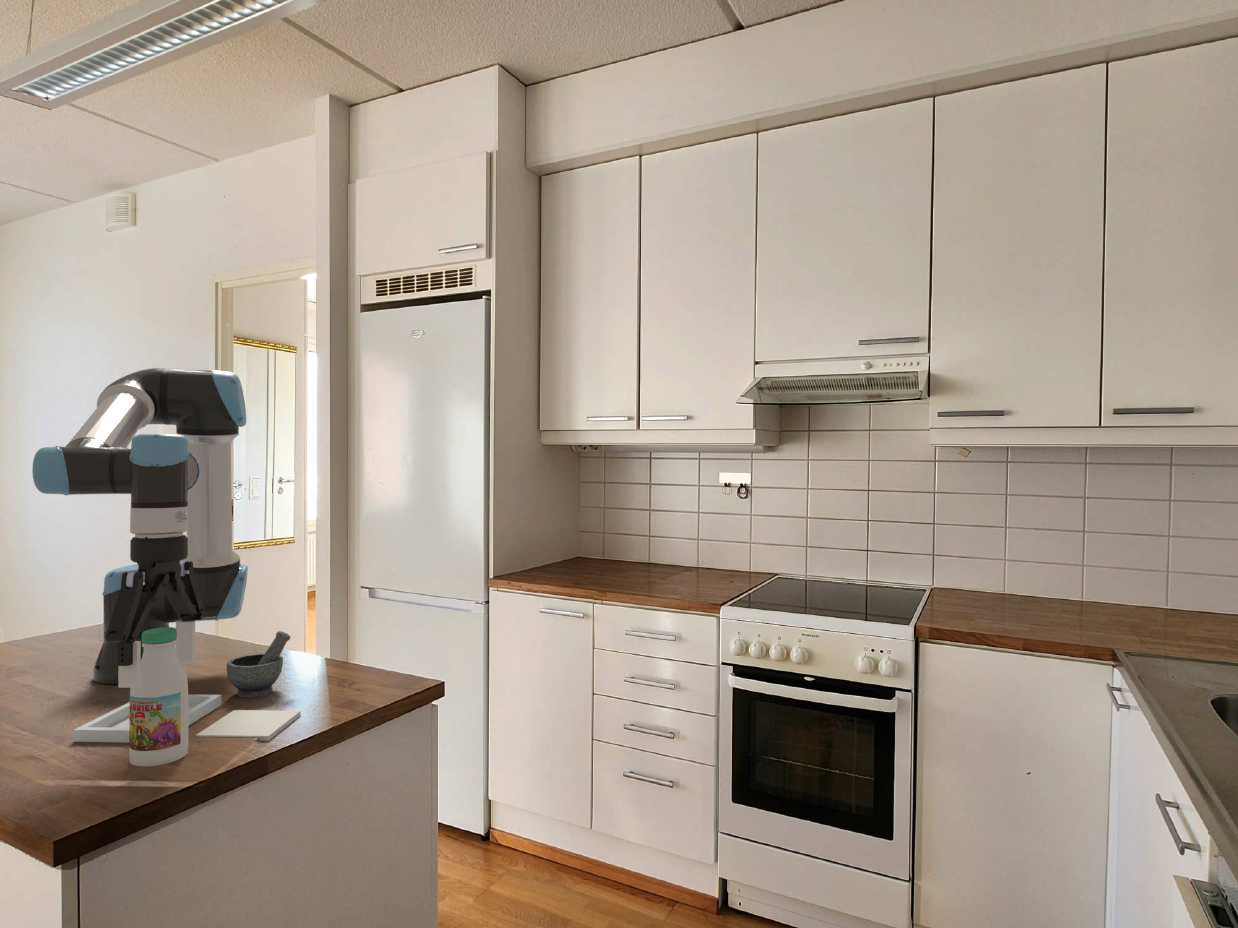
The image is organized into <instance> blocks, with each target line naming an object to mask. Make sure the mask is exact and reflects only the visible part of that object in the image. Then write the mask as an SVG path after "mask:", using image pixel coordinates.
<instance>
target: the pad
mask: <svg viewBox="0 0 1238 928" xmlns="http://www.w3.org/2000/svg"><path fill="white" fill-rule="evenodd" d="M301 713H302V712H301V710H268V709H267V710H266V709H265V710H263V709H262V710H259V709H255V710H254V709H248V710H247V709H234V710H232V711H231V712H229V713H227V714H226V715H224V716H223V717H221V718H219V719H218V720H217V721H215V722H214V723H211V724H210V725H209V726H207V727H206V728H204V729H202V730H201V731H200V732H198V733H197V734H195V737H203V738H204V737H208V738H209V737H210V738H211V737H214V738H217V737H218V738H256V739H255V741H256V742H257V741H258V742H259V741H260V742H262V741H263V742H269V741H271V739H273V738H274V737H275V736H277V735H278V734H279V733H280V732H282V731H283V730H284V729H285V728H287V727H288V726H289V725H291V724H292V723H293V722H294V721H296V719H298V718H299V717H300V716H301V715H302V714H301Z"/></svg>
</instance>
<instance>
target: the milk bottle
mask: <svg viewBox="0 0 1238 928" xmlns="http://www.w3.org/2000/svg"><path fill="white" fill-rule="evenodd" d="M176 638H177V630H176V627H175V628H174V627H169V628H155V629H150V630H146V631H144V632H143V633H142V647H143V648H144V652H143V656H142V659H141V674H140V687H138V688H129V690H130V691H129V702H130V715H129V743H128V744H129V746H128V747H129V749H128V751H129V752H128V753H129V754H128V755H129V757H128V758H129V764H130V765H132V766H135V767H136V766H137V767H155V766H156V767H157V766H161V765H165V764H166V765H167V764H170V763H173V762H176V761H178V760H180V759H182V758H184V757H185V756H187V754H188V752H189V726H188V694H189V685H188V683H189V682H188V677H187V673H186V670H185V668H184V666H183V664H182V662H180V660H179V658H178V656H177V653H176V643H177V641H176Z"/></svg>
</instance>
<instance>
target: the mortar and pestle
mask: <svg viewBox="0 0 1238 928" xmlns="http://www.w3.org/2000/svg"><path fill="white" fill-rule="evenodd" d="M290 639H291V635H289V634H288V633H287V632H284V631H282V630H280V631H277V632H276V633H275V638H274V639H273V641H272V642H271V644H270V645H269V646H268V648H267V650H266V651H265V652H264V653H255V654H247V655H242V656H239V657H234V658H231V659H230V660H229V661H227V662H226V675H227V679H228V680H229V682H230V684H231V685H232V686H233V687H234V688H236V689H237V694H236V695H237V696H239V697H241V698H257V697H262V696H265V695H268V694H271V693H272V692H273V690H274V689H273V685H274V684H275V683H276V682H277V680H278V679H279V677H280V675H281V673H282V670H283V665H284V662H283V661H284V657H283V656H281V654H282V652H283V650H284V648H285V646H286V644H287V643H288V641H290Z"/></svg>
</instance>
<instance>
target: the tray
mask: <svg viewBox="0 0 1238 928" xmlns="http://www.w3.org/2000/svg"><path fill="white" fill-rule="evenodd" d="M222 697H223V695H222V694H195V693H194V694H189V693H188V727H189V726H190V725H192V724H193V723H195V722H197V721H199V720H200V719H202V718H203V717H206V716H207V715H208V714H209V713H212V712H213V711H215V710H216V709H218V708H220V707H221V706H222ZM129 715H130V701H128V702H126V703H125V704H123V705H121V706H119V707H117V708H115V709H113V710H110V711H109V712H107V713H105V714H102V715H100V716H98V717H97V718H94V719H93V720H91V721H89V722H87V723H85V724H83V725H81V726H79V727H76V728H74V729H73V743H76V742H77V743H118V744H119V743H123V744H125V743H128V744H129Z"/></svg>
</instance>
